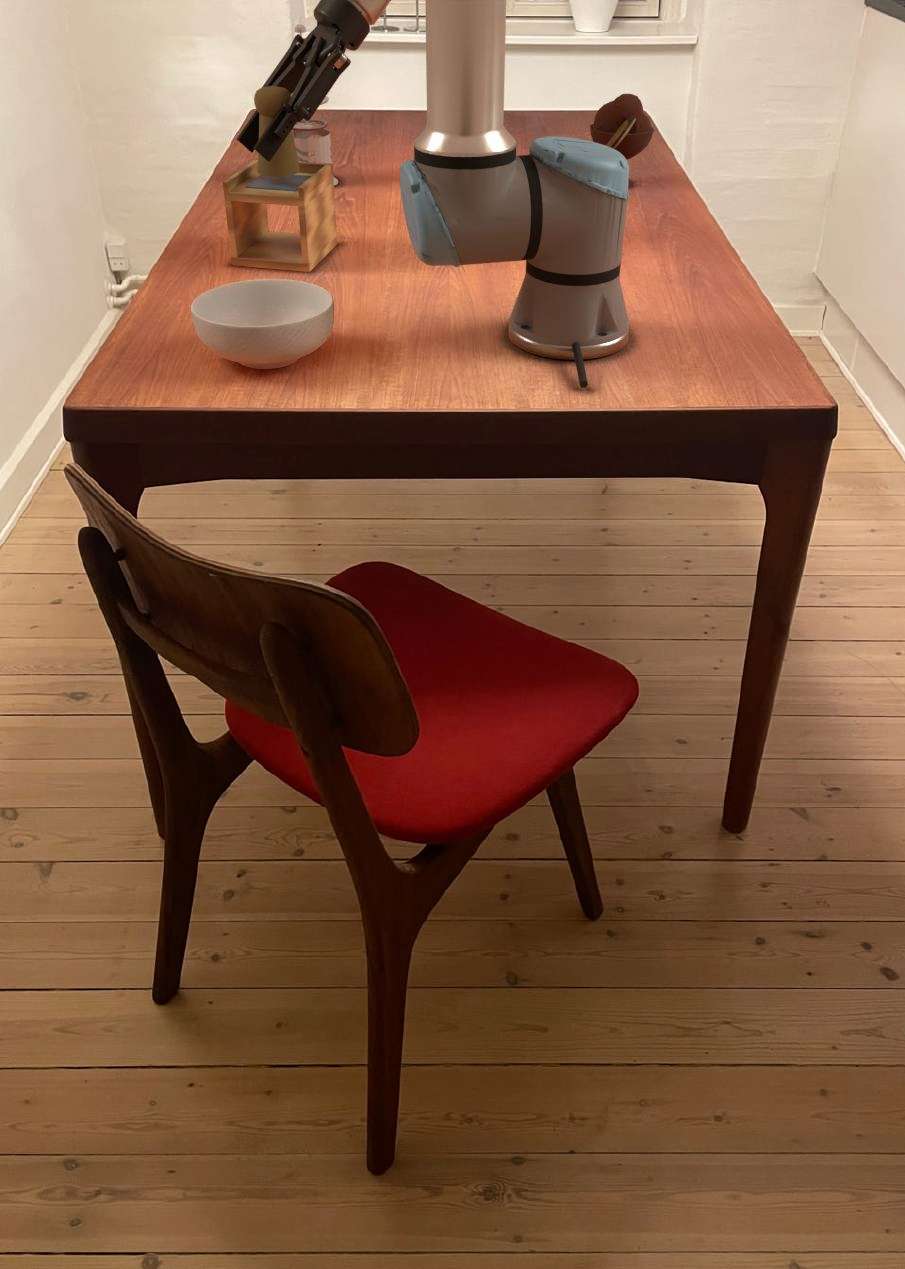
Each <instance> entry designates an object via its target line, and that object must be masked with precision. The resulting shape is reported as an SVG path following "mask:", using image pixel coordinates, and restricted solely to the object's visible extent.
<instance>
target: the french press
mask: <svg viewBox="0 0 905 1269" xmlns="http://www.w3.org/2000/svg"><path fill="white" fill-rule="evenodd" d="M294 33H297V34H300V36H301V37H302V38H303V36H302V34H304V33H307V28H306V26H305V25H304V24H301V23H298V24H297V25H296V26H295V27H294ZM292 94H293V93H292ZM292 94H291V96H292ZM329 100H330V98H329V97H328V96H327V95H326V97H325V98H324V100H323V101H322V103H321V104H320V106H323V105H325V104H328V102H329ZM327 127H328V122H327V121H326V120H323V119H317V118H311V119H310V120H309V121H306V120H305V119H302V120H301V121H300V122H296V124H295V126H294V127H293V129H292V132H293V137H294V142H295V147H296V152H297V157H298V161H300V162H311V161H314V160H315V161H314V162H315V163H329V164H332V162H333V161H332V160H333V159H332V156H331V155H332V150H331V147H332V143H331V141H332V140H331V132H330V131H329V130H327V129H326V128H327ZM317 135H319V136H320V137H312V136H317ZM311 137H312V138H311ZM309 153H314V154H311V155H309ZM333 181H334V186H336V185H338V183H339V180H338V179H337V178H336V177H335V176H334V175H333Z"/></svg>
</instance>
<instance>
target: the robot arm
mask: <svg viewBox="0 0 905 1269" xmlns="http://www.w3.org/2000/svg"><path fill="white" fill-rule="evenodd" d="M391 1H392V0H319V1H318V3H317V5H316V6H315V7H314V10H313V17H314V20H316V26H315V27H314V29H312V31H310V32H309V33H308V35H307V36H306V37H303V36H302V37H301V36H300V33H297V34H296V35H295V36H294V37H293V40H292V41H291V43H290V46H289V48H288V49H287V50H286V52H285V54H284V55H283V56H282V58H281V59H280V61H279V62H278V64H277V65H276V66H275V68H274V69H273V71H272V72H271V74H270V75H269V76H268V77H267V79H266V80H265V82H264V84H263V85H262V86H261V88H263V87H268V86H278V87H283V88H285V89H287V90H288V91H289V93H290V95H291V94H292V93H293V94H292V96H291V98H290V100H289V102H288V104H287V103H282V104H281V107H282V108H284V109H285V110H286V111H287V112H285V111H284V110H283V109H281V108H280V110H279V111H278V113H277V114H276V116H275V117H274V118H273V120H272V121H271V123H270V124H269V126H268V127H267V129H266V130H265V131H264V133H263V134H262V136H261V137H260V139H259V113H258V111H257V110H256V109H255V111H254V112H253V114H252V115H251V117H250V118H249V120H248V121H247V123H246V125H245V126H244V127H243V129H241V132H240V133H239V135H238V136H237V137H236V141H238V143H240V144H241V145H242V146H243V147H244V148H245V149H247V150H248V151H249V153H254V152H257V153H259V154H260V155H261V156H262V157H263V158H265V159H266V160H267V161H268V162H270V160H271V159H272V157H273V156H274V155H275V153H276V152H277V150H278V149H279V147H280V146H281V144H282V143H283V142H284V140H285V139H286V137H287V136H288V134H289V133H290V131H291V130H292V129H293V127H294V126H295V124H296V122H300V121H301V120H302V119H303V120H304V119H305V120H306V121H309V120H311V119H312V117H313V116H314V114H315V113H316V112H317V110H318V108H319V107H320V106H321V105H320V104H321V103H322V101H323V100H324V98H325V97H326V96H327V95H328V94H329V92H331V89H332V88H333V87H334V85H335V84H336V82H337V80H338V79H339V78H340V76H341V75H342V74H343V73H344V72H345V71H346V70H347V69H348V67H349V66H351V63H352V61H351V59H350V58H349V57H348V56H347V55H346V54H345V53H346V50H349V51H353V52H356V51H358V49H359V48H360V46H361V45H362V44H363V42H364V41H365V39H366V38H367V36H368V35H369V34H370V33H371V30H370V29H371V26H373V25H375V24H376V23H377V21H378V20H379V19H380V17H383V16H384V15H385V12H386V11H385V10H386V8H387V7H388V6H389V4H390V3H391ZM424 2H425V4H424V5H425V60H426V61H425V67H426V68H425V69H426V70H425V71H426V74H425V76H426V126H425V129H423V131H422V132H421V133H420V134H419V135H418V136H417V137H416V138H415V140H414V141H413V159H407V160H406V161H403V162H402V163H401V164H400V166H399V187H400V188H399V189H400V198H401V204H402V210H403V214H404V221H405V224H406V229H407V232H408V236H409V239H410V242H411V245H412V248H413V250H414V253H415V255H416V256H417V258H418V259H419V260H420V261H421V262H422V263H423V264H425V265H427V266H431V267H440V266H442V267H445V266H447V267H448V266H453V267H456V268H459V267H461V266H467V265H468V266H469V265H481V264H494V263H495V264H496V263H507V262H520V261H525V275H524V278H523V281H522V283H521V285H520V289H519V292H518V294H517V297H516V299H515V302H514V305H513V308H512V311H511V313H510V316H509V318H508V338H509V340H510V342H511V343H512V344H513V345H514V346H516V347H517V348H519V349H521V350H523V351H525V352H527V353H529V354H532V355H535V356H539V357H544V358H550V359H557V360H570V361H571V360H572V361H574V363H575V369H576V372H577V379H578V384H579V388H582V389H585V388H587V387H588V386H589V382H588V377H587V372H586V367H585V362H584V360H591V359H592V360H593V359H598V358H602V357H606V356H610V355H613V354H615V353H617V352H619V351H621V350H622V349H623V348H624V347H626V346H627V344H628V342H629V334H630V321H629V316H628V311H627V307H626V303H625V299H624V292H623V288H622V285H621V268H622V267H621V265H622V256H623V247H624V236H625V228H626V218H627V209H628V200H629V199H630V192H629V187H628V178H629V176H630V166H629V162H628V160H626V158H625V157H624V156H623V155H622V154H621V153H620V152H618V151H617V150H615V149H613V148H611V147H608V146H605V145H602V144H599V143H595V142H593V141H591V140H586V139H581V138H575V137H568V136H554V135H553V136H551V135H550V136H549V135H547V136H543V137H537V138H534V139H533V140H532V141H531V145H530V146H529V154H521V155H517V140H516V139H515V138H514V136H513V135H512V134H510V132H509V131H508V130H507V128H505V126H504V124H505V123H504V120H505V119H504V117H505V115H504V114H505V79H506V78H505V77H506V76H505V75H506V72H505V71H506V65H505V64H506V36H507V35H506V33H507V32H506V31H507V30H506V28H507V27H506V26H507V0H424ZM292 131H293V130H292ZM629 179H630V178H629Z"/></svg>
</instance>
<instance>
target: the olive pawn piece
mask: <svg viewBox="0 0 905 1269" xmlns="http://www.w3.org/2000/svg"><path fill="white" fill-rule="evenodd" d="M290 98H291V95H290V93H289V91H288V90H287V89H285V88H283V87H278V86H268V87H263V88H262V87H260V88H259V89H257V90H256V91H255V93H254V96H253V102H254V107H255V111H256V110H257V111H258V113H259V139H260V137H261V136H262V134H263V133H264V131H265V130H266V129H267V127H268V126H269V124H270V123H271V121H272V120H273V118H274V117H275V116H276V114H277V113H278V111H279V110H280V108H281V109H283V110H284V111H285V112H287V111H286V110H285V109H284V108H282V107H281V104H282V103H287V104H288V102H289V100H290ZM257 153H258V152H257ZM257 159H258V173H259V174H261V175H264V176H271V177H283V176H291V175H294V174H297V173H299V172H300V167H299V162H298V157H297V152H296V147H295V142H294V133H293V130H291V131H290V133H289V134H288V136H287V137H286V139H285V140H284V142H283V143H282V144H281V146H280V147H279V149H278V150H277V152H276V153H275V155H274V156H273V157H272V159H271V160H270V162H268V161H267V160H266V159H265V158H263V157H262V156H261V155H260V154H259V153H258V157H257Z"/></svg>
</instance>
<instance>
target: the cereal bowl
mask: <svg viewBox="0 0 905 1269" xmlns="http://www.w3.org/2000/svg"><path fill="white" fill-rule="evenodd" d="M190 315H191V319H192V323H193V327H194V329H195V333H196V335H197V337H198V339H199V340H200V341H201V343H202V344H203V345H204V346H205V347H206V348H207V349H208V350H209V351H211V353H213V354H215V355H216V356H218V357H221V358H222V359H224V360H228V361H232V362H235V363H238V364H240V365H242V366H243V367H246V368H250V369H254V370H255V369H256V370H273V369H280V368H285V367H287V366H290V365H292V364H294V363H296V362H298V361H299V360H300V359H301V358H303V357H306V356H308V355H310V354H312V353H313V352H315V351H316V350H318V349H319V348H321V346H323V344H324V343H325V342H326V341H327V339H328V338H329V336H330V334H331V333H332V330H333V327H334V323H335V300H334V296H333V295H332V293H330V291H328V290H327V289H326V288H324V287H322V286H320V285H317V284H315V283H311V282H308V281H304V280H297V279H288V278H257V279H255V278H254V279H247V280H241V281H240V280H239V281H235V282H229V283H225V284H222V285H219V286H216V287H213V288H210V289H208V290H206V291H204V292H203V293H200V295H198V296H197V297H196V298H194V299H193V301H192V303H191V305H190Z"/></svg>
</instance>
